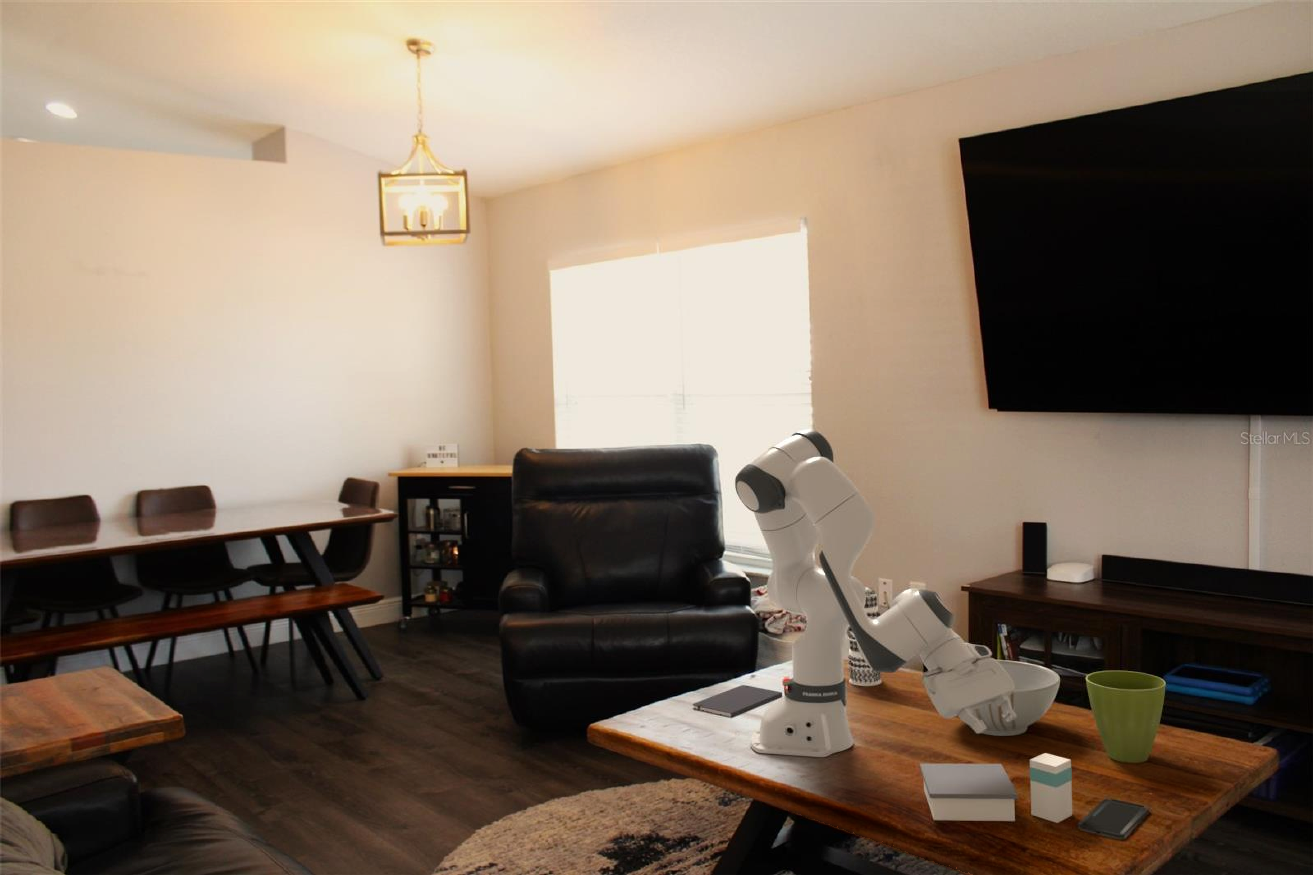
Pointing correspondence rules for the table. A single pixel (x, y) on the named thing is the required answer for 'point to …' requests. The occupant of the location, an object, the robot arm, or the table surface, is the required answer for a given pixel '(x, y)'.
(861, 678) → the decorative candle
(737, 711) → the notebook
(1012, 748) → the table surface
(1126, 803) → the phone
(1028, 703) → the decorative bowl
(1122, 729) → the flower pot
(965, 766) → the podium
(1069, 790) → the carton
